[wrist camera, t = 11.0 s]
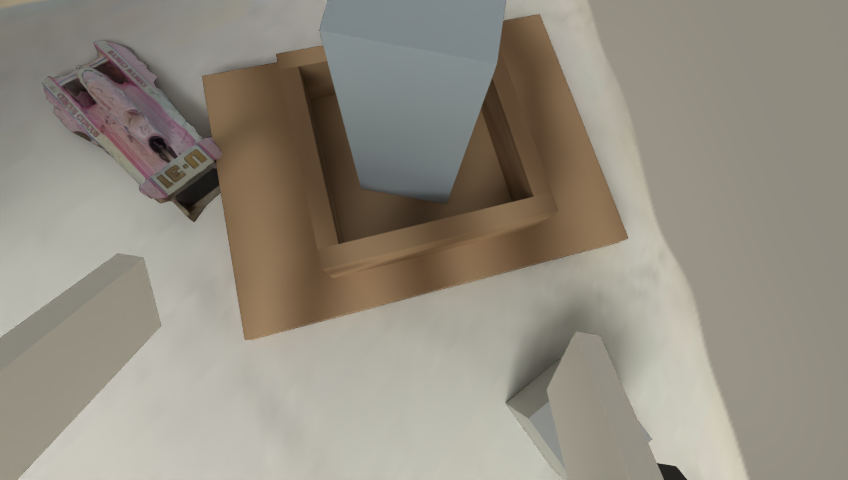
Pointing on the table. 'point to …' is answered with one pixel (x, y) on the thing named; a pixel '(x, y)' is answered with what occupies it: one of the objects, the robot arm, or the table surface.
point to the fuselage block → (411, 86)
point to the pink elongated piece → (137, 127)
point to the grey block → (542, 419)
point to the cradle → (392, 214)
